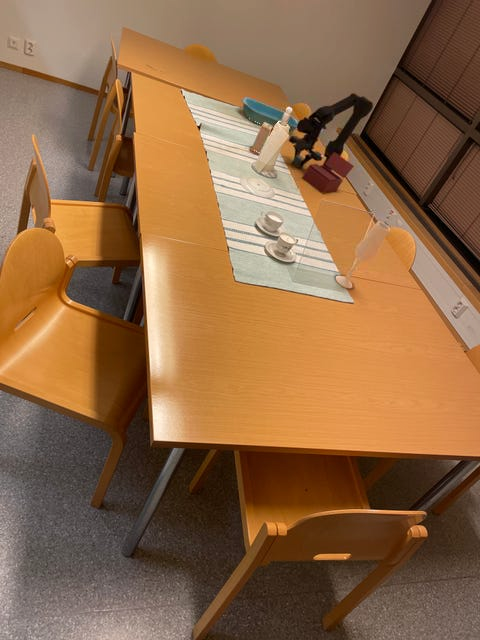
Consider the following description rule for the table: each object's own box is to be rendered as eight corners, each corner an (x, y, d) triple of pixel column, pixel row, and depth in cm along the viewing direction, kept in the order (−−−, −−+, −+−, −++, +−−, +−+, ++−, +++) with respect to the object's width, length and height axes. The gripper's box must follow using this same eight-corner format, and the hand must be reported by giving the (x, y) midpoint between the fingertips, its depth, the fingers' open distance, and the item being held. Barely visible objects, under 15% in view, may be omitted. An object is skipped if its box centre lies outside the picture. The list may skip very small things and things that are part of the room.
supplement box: (259, 155, 228) (270, 129, 220) (250, 150, 228) (261, 125, 220) (261, 150, 235) (273, 125, 227) (252, 146, 234) (264, 121, 227)
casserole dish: (242, 120, 260) (247, 107, 256) (234, 104, 275) (239, 92, 271) (298, 141, 275) (304, 129, 271) (288, 125, 291) (293, 114, 287)
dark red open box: (317, 176, 241) (324, 163, 237) (336, 191, 237) (344, 178, 233) (302, 177, 230) (309, 164, 226) (322, 193, 226) (329, 179, 222)
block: (296, 163, 243) (300, 155, 241) (302, 167, 242) (306, 160, 239) (291, 163, 240) (295, 155, 237) (297, 168, 238) (301, 160, 236)
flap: (324, 163, 237) (324, 164, 237) (343, 178, 233) (344, 178, 233) (334, 151, 236) (334, 152, 236) (353, 165, 231) (354, 166, 232)
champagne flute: (349, 290, 163) (389, 234, 149) (333, 279, 165) (372, 222, 151) (354, 284, 169) (394, 229, 155) (339, 273, 170) (377, 217, 156)
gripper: (290, 124, 228) (275, 154, 237) (318, 145, 222) (303, 174, 231) (302, 125, 236) (287, 153, 245) (330, 145, 230) (314, 173, 239)
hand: (297, 163), depth 240 cm, fingers closed on block, 4 cm apart
